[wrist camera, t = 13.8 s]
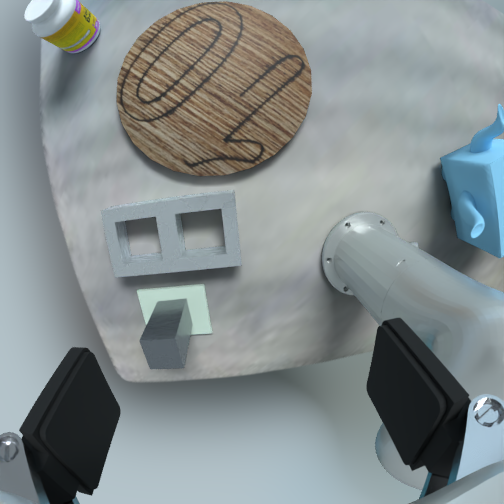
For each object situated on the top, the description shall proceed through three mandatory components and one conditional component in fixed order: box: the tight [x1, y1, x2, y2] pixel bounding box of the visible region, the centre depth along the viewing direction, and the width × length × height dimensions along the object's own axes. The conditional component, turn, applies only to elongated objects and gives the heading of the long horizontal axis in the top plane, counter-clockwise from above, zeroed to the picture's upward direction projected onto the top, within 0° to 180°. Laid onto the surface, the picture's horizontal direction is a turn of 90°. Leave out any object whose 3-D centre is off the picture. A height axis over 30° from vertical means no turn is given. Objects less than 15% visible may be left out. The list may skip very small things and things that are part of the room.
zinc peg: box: [140, 298, 193, 369], centre depth 36 cm, size 4×4×10 cm
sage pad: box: [137, 284, 212, 335], centre depth 41 cm, size 10×8×1 cm
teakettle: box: [440, 104, 504, 258], centre depth 31 cm, size 19×19×15 cm
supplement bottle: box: [24, 0, 100, 53], centre depth 21 cm, size 7×7×13 cm
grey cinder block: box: [101, 190, 242, 277], centre depth 36 cm, size 17×9×4 cm, turn 95°
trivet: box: [117, 2, 312, 176], centre depth 31 cm, size 25×25×2 cm
